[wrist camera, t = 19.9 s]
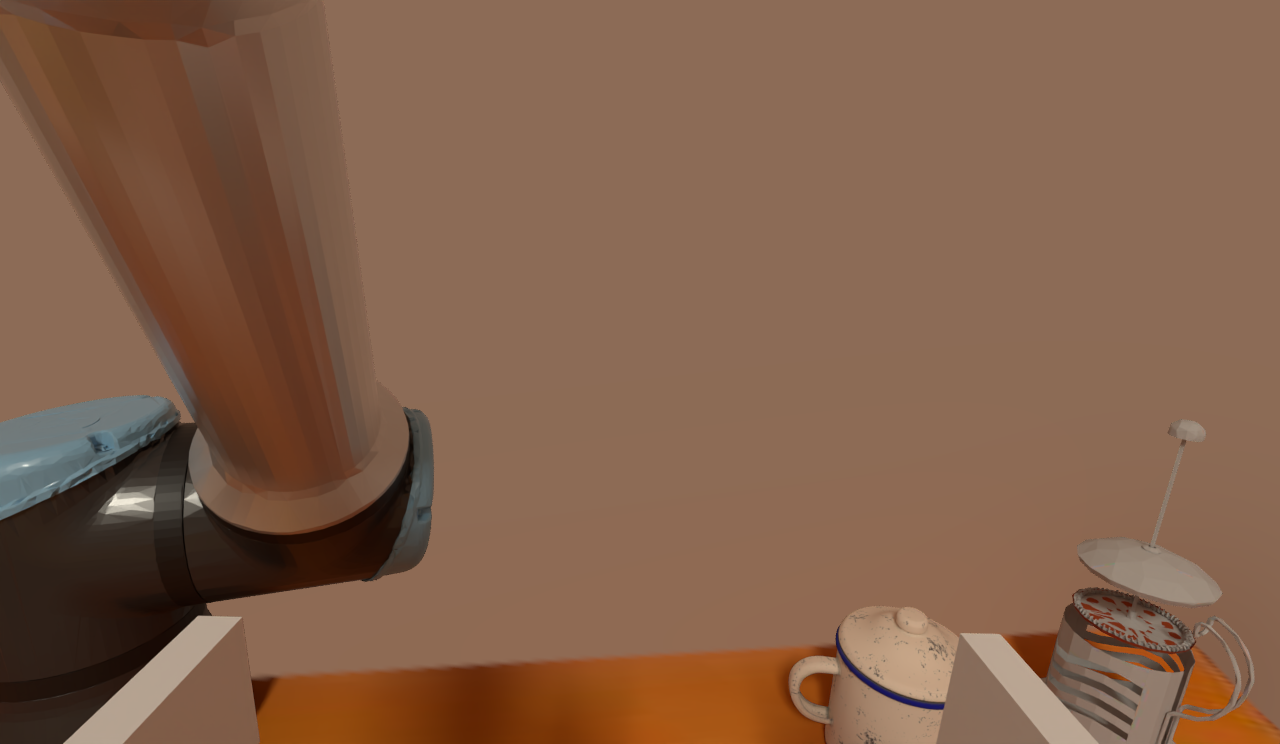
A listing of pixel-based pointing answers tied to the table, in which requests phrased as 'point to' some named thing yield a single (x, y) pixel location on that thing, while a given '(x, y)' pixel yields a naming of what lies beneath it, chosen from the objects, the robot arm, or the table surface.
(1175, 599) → the french press
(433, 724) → the table surface
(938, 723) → the teacup with lid
